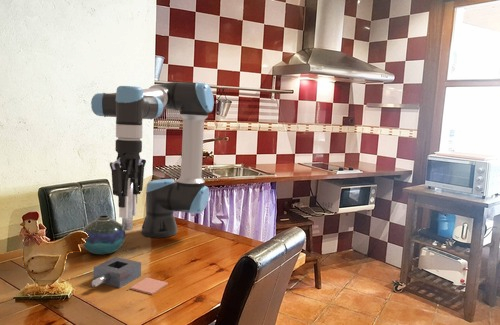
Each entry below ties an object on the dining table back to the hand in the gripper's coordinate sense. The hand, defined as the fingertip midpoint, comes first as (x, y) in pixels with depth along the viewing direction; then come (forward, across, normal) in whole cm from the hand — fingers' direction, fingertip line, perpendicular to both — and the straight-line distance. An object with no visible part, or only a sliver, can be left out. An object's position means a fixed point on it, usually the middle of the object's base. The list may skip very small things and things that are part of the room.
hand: (127, 216), depth 119 cm
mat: (+21, -1, +8) cm, 22 cm away
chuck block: (+21, +2, -4) cm, 21 cm away
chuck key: (+4, 0, 0) cm, 4 cm away
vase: (+21, -16, -25) cm, 36 cm away
